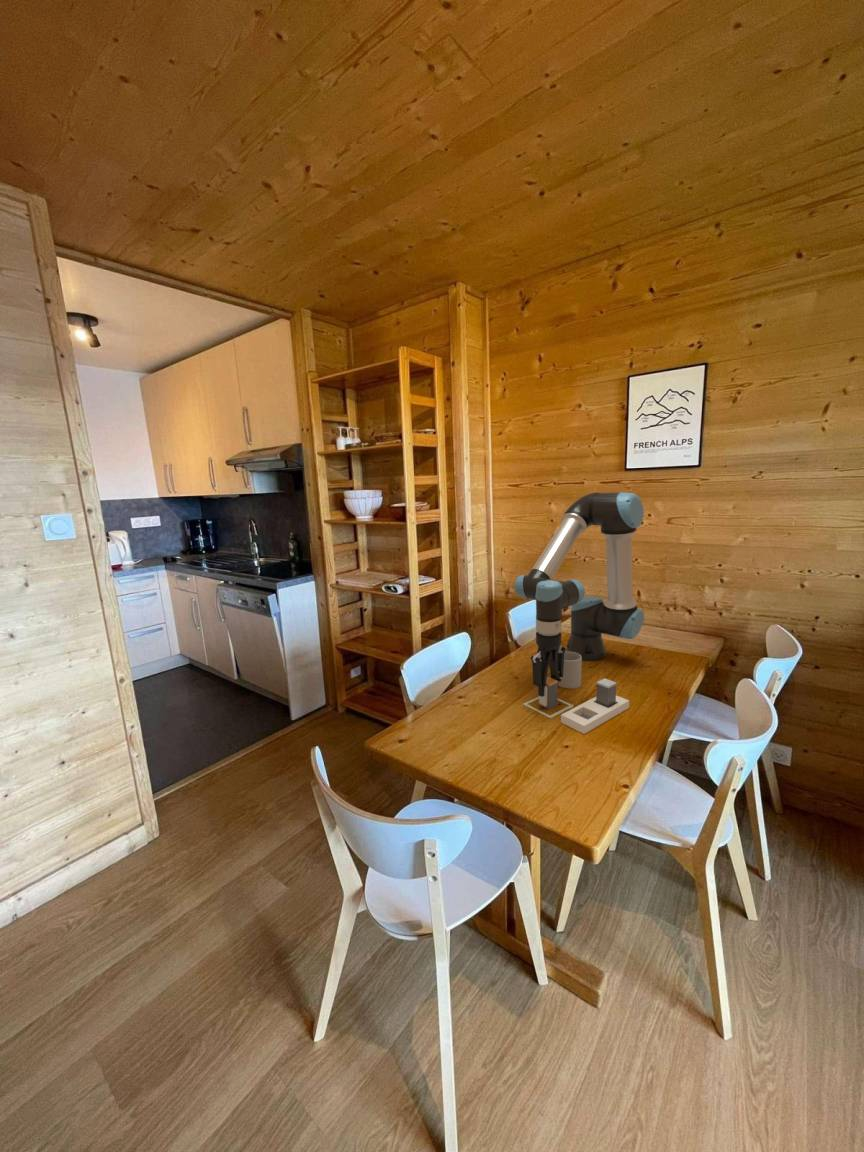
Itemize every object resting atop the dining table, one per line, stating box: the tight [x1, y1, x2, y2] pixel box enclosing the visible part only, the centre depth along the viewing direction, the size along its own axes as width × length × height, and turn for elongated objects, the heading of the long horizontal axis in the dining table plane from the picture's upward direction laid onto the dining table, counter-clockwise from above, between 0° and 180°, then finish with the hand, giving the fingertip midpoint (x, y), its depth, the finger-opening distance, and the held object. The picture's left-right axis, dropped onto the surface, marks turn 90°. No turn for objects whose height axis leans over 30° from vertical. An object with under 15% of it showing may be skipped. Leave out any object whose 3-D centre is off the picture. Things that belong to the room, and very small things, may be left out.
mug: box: [558, 650, 583, 690], centre depth 159 cm, size 12×8×11 cm
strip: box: [560, 694, 630, 735], centre depth 137 cm, size 8×22×4 cm, turn 126°
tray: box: [522, 696, 574, 719], centre depth 145 cm, size 11×11×1 cm
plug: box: [538, 676, 559, 711], centre depth 144 cm, size 4×4×9 cm
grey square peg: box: [595, 677, 617, 708], centre depth 139 cm, size 4×4×9 cm
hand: (548, 702), depth 144 cm, fingers closed on plug, 4 cm apart
